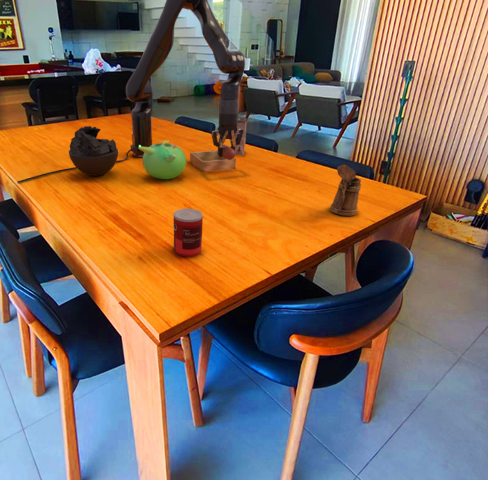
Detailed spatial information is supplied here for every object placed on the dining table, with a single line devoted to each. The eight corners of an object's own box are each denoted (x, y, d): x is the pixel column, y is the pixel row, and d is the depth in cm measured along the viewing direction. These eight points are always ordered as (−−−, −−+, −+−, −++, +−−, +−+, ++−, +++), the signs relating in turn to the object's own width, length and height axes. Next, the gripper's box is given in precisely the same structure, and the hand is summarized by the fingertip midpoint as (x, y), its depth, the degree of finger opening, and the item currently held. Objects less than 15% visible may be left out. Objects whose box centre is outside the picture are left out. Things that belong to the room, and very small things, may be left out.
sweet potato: (236, 160, 157) (237, 149, 155) (226, 161, 156) (227, 150, 153) (225, 154, 166) (226, 143, 163) (215, 155, 164) (216, 143, 162)
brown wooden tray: (202, 173, 167) (203, 162, 164) (189, 162, 180) (189, 152, 177) (235, 169, 172) (236, 159, 169) (220, 160, 184) (220, 150, 182)
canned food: (184, 242, 112) (184, 206, 106) (207, 249, 109) (208, 212, 102) (168, 252, 107) (167, 214, 101) (191, 260, 103) (192, 222, 97)
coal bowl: (102, 165, 175) (97, 120, 165) (129, 175, 164) (125, 127, 153) (63, 174, 164) (55, 127, 153) (89, 185, 152) (82, 135, 141)
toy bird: (191, 174, 165) (191, 138, 156) (177, 187, 152) (177, 148, 143) (152, 170, 169) (151, 135, 161) (136, 182, 156) (133, 144, 148)
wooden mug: (319, 215, 129) (331, 160, 119) (336, 204, 138) (348, 152, 127) (345, 222, 125) (359, 166, 114) (360, 210, 133) (375, 157, 123)
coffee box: (232, 151, 198) (234, 117, 189) (244, 151, 197) (247, 117, 188) (230, 155, 191) (232, 120, 182) (243, 156, 190) (246, 121, 181)
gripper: (240, 109, 156) (237, 152, 165) (208, 111, 152) (206, 155, 161) (249, 112, 150) (245, 157, 160) (215, 114, 146) (213, 160, 156)
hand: (226, 156), depth 160 cm, fingers closed on sweet potato, 4 cm apart
